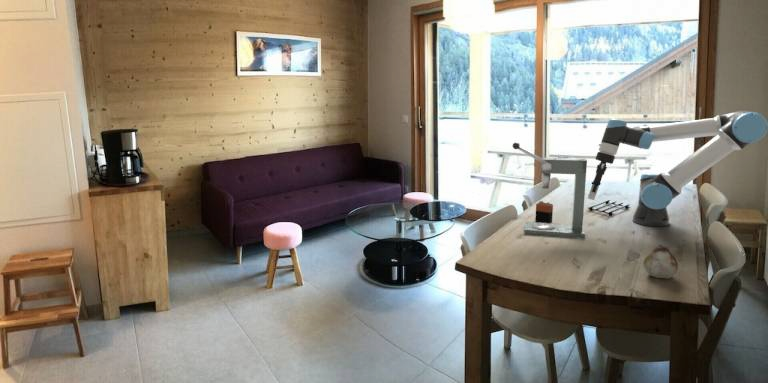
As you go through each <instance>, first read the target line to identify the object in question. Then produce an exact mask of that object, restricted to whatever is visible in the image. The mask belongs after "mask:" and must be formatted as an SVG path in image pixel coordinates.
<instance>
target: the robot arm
mask: <svg viewBox="0 0 768 383" xmlns="http://www.w3.org/2000/svg"><path fill="white" fill-rule="evenodd" d="M767 132H768V121H767V119H766V117H764V115H762V114H761V113H758V112H756V111H751V110H738V111H734V112H730V113H724V114H717V115H716V116H715V117H711V118H703V119H702V118H701V119H695V120H687V121H680V122H679V121H678V122H670V123H664V124H663V123H662V124H655V125H654V124H653V125H647V126H634V127H629V126H628V123H627V121H625V120H621V119H617V118H610V119H609V120H608V122H607V124H606V127H605V130H604V132H603V136H602V139H601V142H600V143H598V146H599V147H598V152H597V153H596V155H595V160H596V161H599V164H597V166H596V171H595V176H594V179H593V181H591V186H590V190H589V193H588V196H587V199H588V200H591V201H595V199H596V197H597V193H598V191H599V187H600V185H601V184H602V183H601V181H602V178H603V176H604V175H605V172H606V171H607V168H608V167H607V164H610V165H611V164H614V161H615V157H616V155H617V153H618V149H619V148H620V145H621V144H624V145H626V146H631V147H634V148H638V149H644V150H649V149H650V148H651V146H652V144H653V143H656V142H664V141H665V142H666V141H674V140H684V139H693V138H703V137H713V136H714V137H713V138H711V139H710V140H709V141H707V142H706V143H705V144H703V145H702V146H701V147H700V148H698V149H697V150H695V151H694V152H693V153H692V154H690V155H689V156H688V157H686V158H685V159H684V160H683V161H681V162H680V163H678V164H677V165H676V166H674V167H673V168H672V169H670V170H669V171H668V172H660V173H659V174H656V173H642V174H641V175H640V179H639V181H640V184H639V193H638V204H637V207H636V209H635V211H634V213H633V215H632V222H633V223H636V224H639V225H643V226H648V227H649V226H650V227H665V226H668V225H669V224H670V216H669V214H668V209H667V207H668V206H669V205H670V204H671V203H672V201H673V200H674V199H676V198H677V197H678V196H679V195H681V194H682V189H683V188H684V187H685V186H687V185H688V184H690V183H691V182H692V181H693V180H695V179H696V178H698V177H699V176H701V175H702V174H703V173H704V172H706V171H708V170H709V169H710V168H712V167H713V166H714V165H715V164H717V163H718V162H719V161H721V160H723V159H724V158H725V157H726V156H728V155H730V154H731V153H732V152H734V151H742V150H743V149H744V148H746V147H747V146H748V145H750V144H751V143H755V142H757V141H760V140H761V139H763V138H764V137H765V136H766V135H767Z"/></svg>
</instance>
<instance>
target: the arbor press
mask: <svg viewBox="0 0 768 383" xmlns="http://www.w3.org/2000/svg"><path fill="white" fill-rule="evenodd" d="M512 148H513V149H514V150H518V151H521V152H522V153H524V154H525V155H527V156H529V157H530V158H532V159H534V160H536V161H538V162H540V163H541V186H540V187H541V189H547V190H548V189H550V188H551V174H553V175H555V174H556V175H557V174H559V175H574V185H573V186H574V187H573V199H572V200H573V201H572V216H571V217H572V218H571V223H555V222H554V223H553V222H551V223H542V222H536V221H525V224H524V229H523V230H524V231H523V233H524V235H529V234H530V235H531V236H543V237H544V236H545V237H546V236H547V237H559V238H570V239H586V232H585V226H584V224H583V223H584V213H585V212H584V211H585V209H584V208H585V196H586V195H585V194H586V180H587V167H588V166H587V164H588V159H587V158H579V157H578V158H577V157H576V158H575V157H574V158H572V157H571V158H570V157H540V156H538V155H537V154H534V153H533V152H531V151H530V150H528V149H527V148H525V147H523V146H521V145H520V143H519V142H517V141H515V142H514V143H512Z"/></svg>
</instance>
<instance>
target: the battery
mask: <svg viewBox="0 0 768 383" xmlns="http://www.w3.org/2000/svg"><path fill="white" fill-rule="evenodd" d="M553 210H554V204H553V203H550V202H544V201H543V200H539V201H538V202H537V203H536V204H535V218H534V220H535V221H534V222H542V223H553V215H554V214H553Z"/></svg>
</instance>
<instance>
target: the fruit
mask: <svg viewBox="0 0 768 383" xmlns="http://www.w3.org/2000/svg"><path fill="white" fill-rule="evenodd" d="M643 268H644V270H645V271H646V273H647V274H648V275H649V276H652V277H653V278H657V279H670V278H672V277H673V276H675V275H676V273H677V271H678V268H679V263H678V260H677V258H676V256H675V255H674V254H673V253H672V252H671V251H670V249H669V248H668V247H666V246H664V245H661V244H659V245H658V246H656V247H655V248H653V249H652V251H651V252H650V253H648V254H647V255H646V256H645V258H644V259H643Z"/></svg>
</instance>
